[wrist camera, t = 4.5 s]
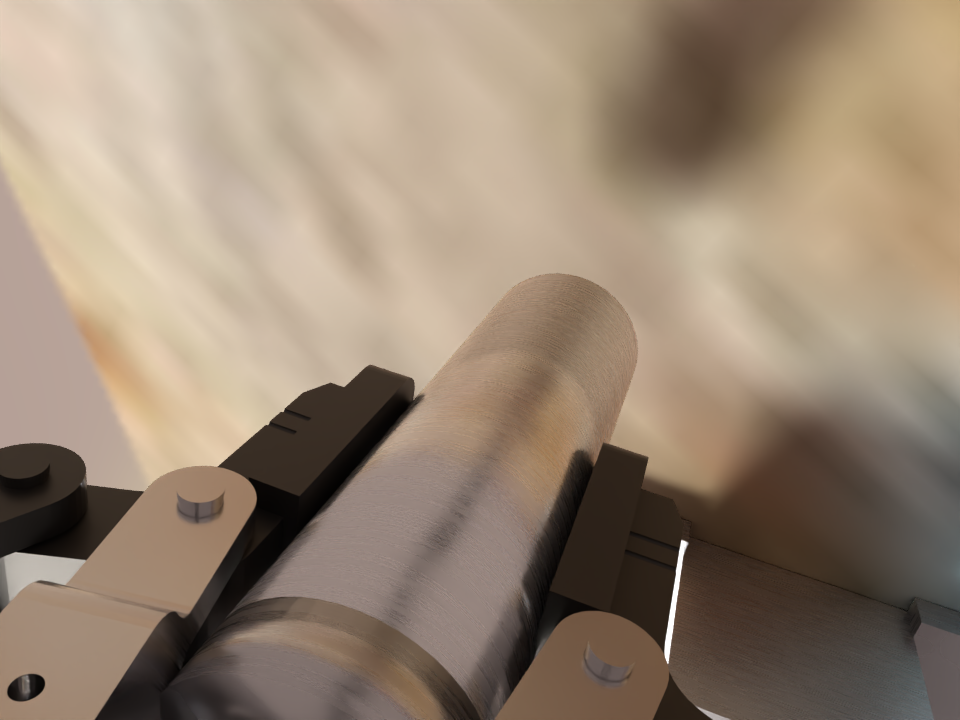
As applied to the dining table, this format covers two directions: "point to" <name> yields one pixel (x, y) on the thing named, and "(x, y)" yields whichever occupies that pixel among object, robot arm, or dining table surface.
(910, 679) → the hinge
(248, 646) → the pin
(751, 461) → the dining table surface
